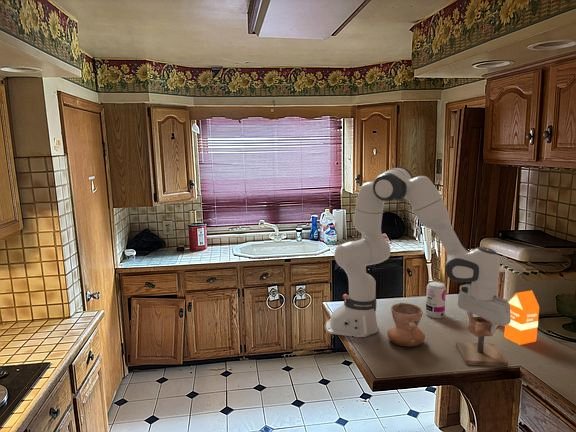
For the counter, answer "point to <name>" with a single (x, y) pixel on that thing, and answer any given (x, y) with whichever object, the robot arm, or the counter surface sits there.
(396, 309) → the ceramic jug
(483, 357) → the peg stand
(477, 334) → the bead
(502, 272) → the paper tube
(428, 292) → the supplement can
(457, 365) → the counter surface
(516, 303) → the orange juice
